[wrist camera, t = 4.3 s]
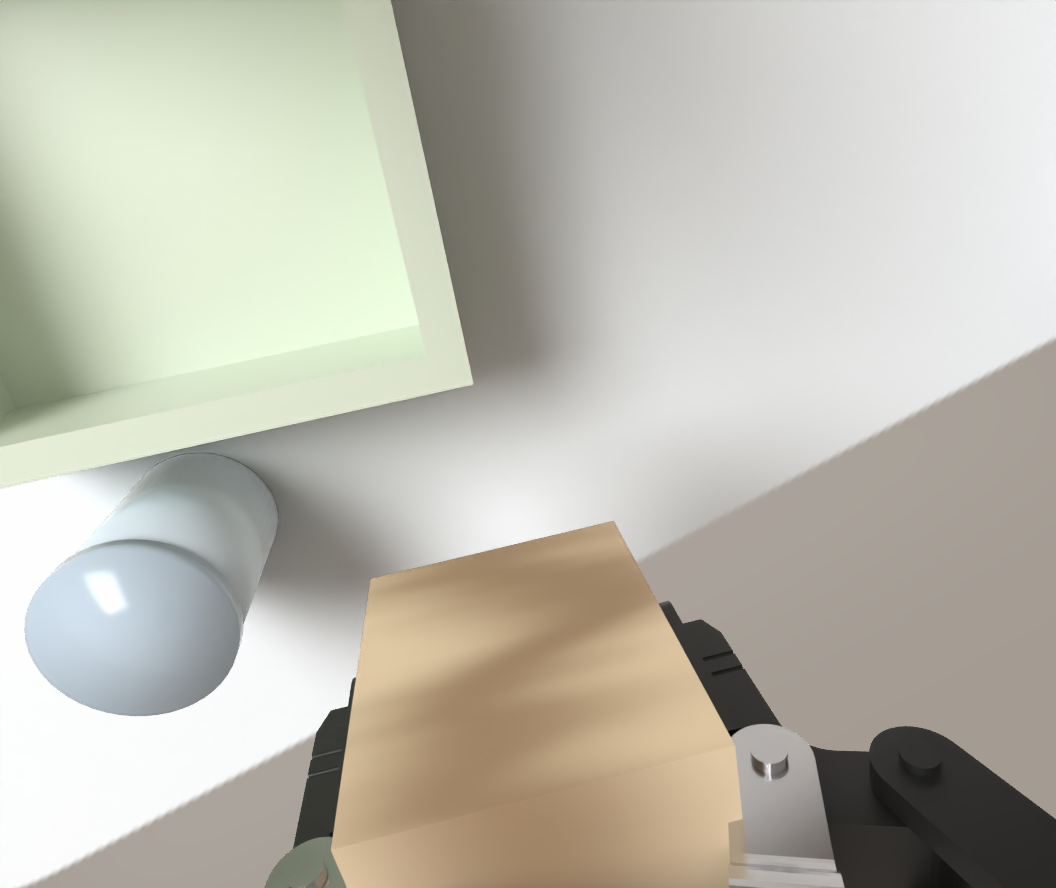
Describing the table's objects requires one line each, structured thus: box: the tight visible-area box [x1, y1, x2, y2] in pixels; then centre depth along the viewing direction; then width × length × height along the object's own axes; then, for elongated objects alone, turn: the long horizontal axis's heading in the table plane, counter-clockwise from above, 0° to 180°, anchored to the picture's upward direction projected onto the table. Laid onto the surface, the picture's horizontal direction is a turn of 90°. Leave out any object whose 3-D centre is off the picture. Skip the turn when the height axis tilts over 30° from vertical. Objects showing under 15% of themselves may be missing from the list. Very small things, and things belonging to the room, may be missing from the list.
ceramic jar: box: [24, 453, 278, 716], centre depth 20 cm, size 5×5×7 cm
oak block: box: [331, 521, 743, 888], centre depth 12 cm, size 5×5×6 cm
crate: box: [0, 0, 474, 489], centre depth 17 cm, size 14×13×5 cm
